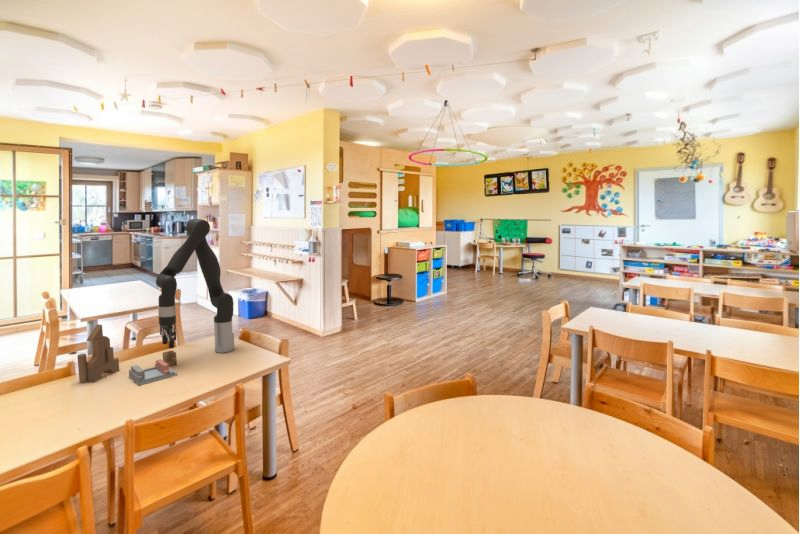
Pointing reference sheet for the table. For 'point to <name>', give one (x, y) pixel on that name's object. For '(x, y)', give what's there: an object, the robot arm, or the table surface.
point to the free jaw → (162, 366)
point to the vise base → (148, 374)
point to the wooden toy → (97, 358)
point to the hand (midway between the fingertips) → (168, 345)
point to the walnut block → (170, 358)
